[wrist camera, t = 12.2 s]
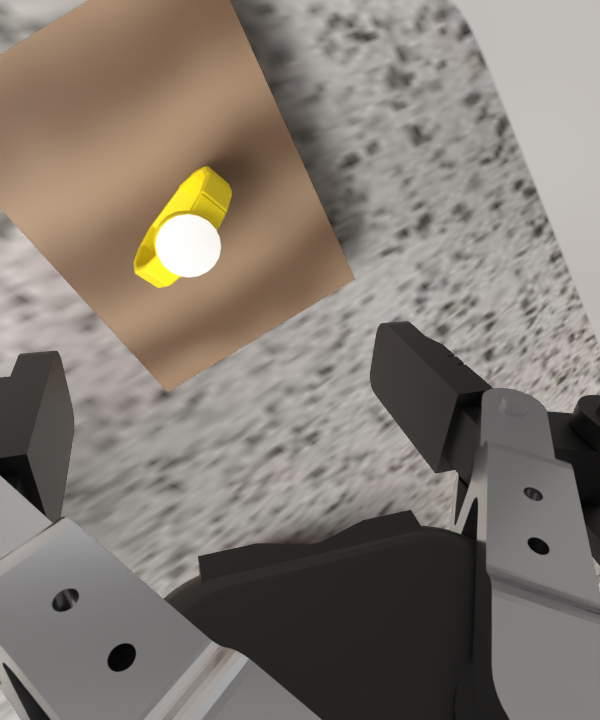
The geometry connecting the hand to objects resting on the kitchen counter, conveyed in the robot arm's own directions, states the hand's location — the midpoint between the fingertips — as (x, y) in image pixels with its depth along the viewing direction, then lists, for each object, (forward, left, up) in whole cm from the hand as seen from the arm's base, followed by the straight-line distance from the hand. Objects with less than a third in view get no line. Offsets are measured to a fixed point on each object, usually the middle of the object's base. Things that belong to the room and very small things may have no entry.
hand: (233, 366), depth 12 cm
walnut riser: (0, 0, -20) cm, 20 cm away
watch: (0, 0, -16) cm, 16 cm away
